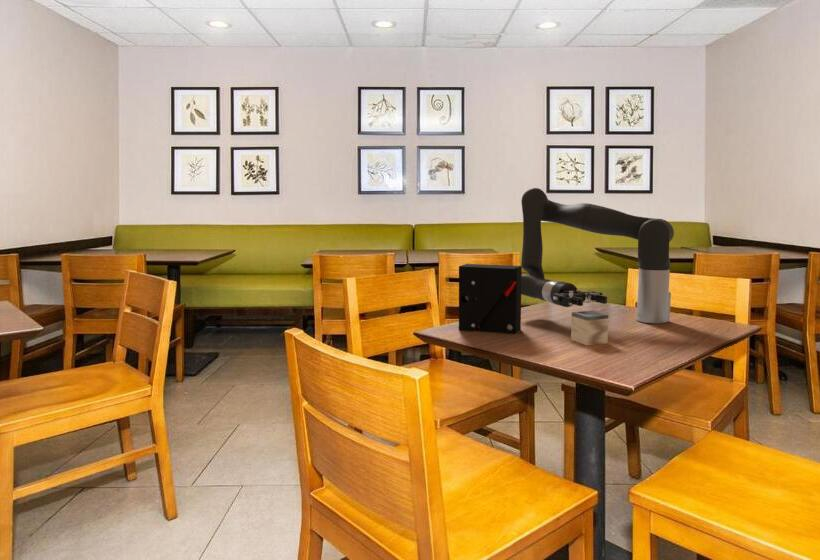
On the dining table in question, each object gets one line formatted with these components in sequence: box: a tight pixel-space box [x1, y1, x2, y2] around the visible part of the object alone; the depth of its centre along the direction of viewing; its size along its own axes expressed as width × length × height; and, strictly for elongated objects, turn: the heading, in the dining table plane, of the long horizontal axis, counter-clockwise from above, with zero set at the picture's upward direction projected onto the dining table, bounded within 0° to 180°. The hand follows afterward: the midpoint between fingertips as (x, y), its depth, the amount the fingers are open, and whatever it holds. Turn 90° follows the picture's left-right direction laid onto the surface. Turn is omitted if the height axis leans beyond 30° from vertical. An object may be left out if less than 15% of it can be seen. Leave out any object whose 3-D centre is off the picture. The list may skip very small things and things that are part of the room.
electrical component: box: [458, 263, 523, 335], centre depth 170 cm, size 18×10×20 cm, turn 65°
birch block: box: [570, 310, 609, 346], centre depth 155 cm, size 7×7×8 cm
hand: (594, 301), depth 159 cm, fingers open, 8 cm apart
